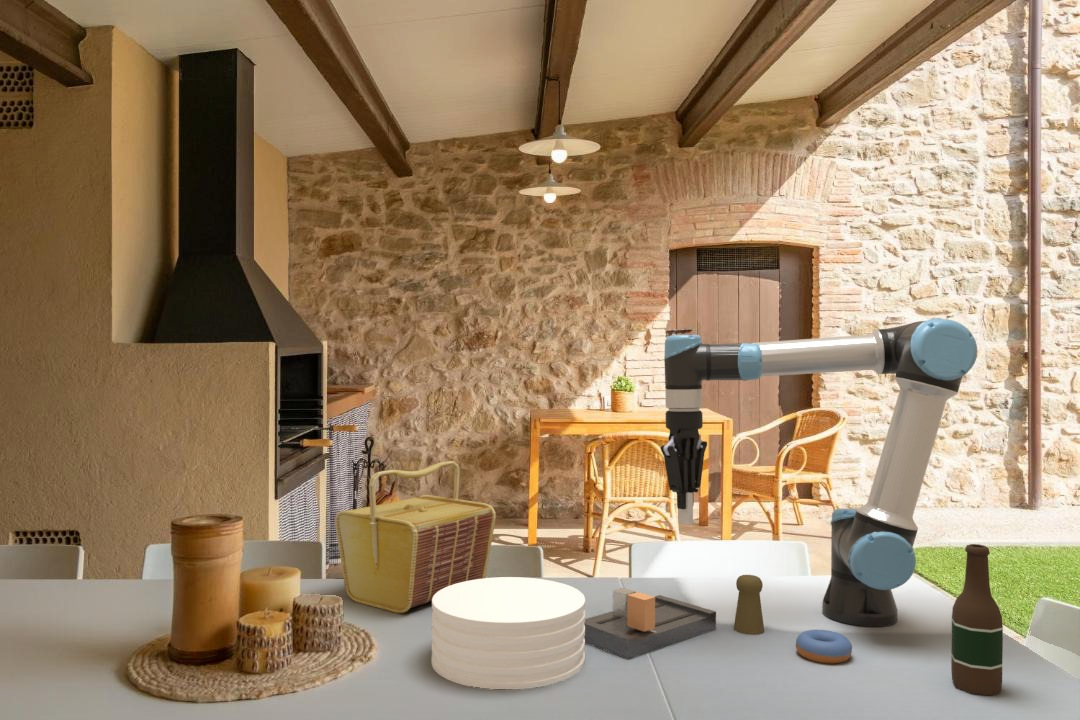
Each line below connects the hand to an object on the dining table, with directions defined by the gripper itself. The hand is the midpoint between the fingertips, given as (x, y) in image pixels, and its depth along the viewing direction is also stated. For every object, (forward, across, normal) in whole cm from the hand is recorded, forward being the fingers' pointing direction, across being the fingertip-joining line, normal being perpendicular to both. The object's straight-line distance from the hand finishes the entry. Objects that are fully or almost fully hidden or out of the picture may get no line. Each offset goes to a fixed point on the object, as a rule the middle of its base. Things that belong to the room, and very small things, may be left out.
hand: (685, 523), depth 169 cm
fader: (+17, +16, +1) cm, 23 cm away
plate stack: (+21, +39, -11) cm, 46 cm away
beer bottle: (+23, -11, +52) cm, 58 cm away
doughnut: (+22, -6, +27) cm, 35 cm away
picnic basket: (+20, +29, -56) cm, 66 cm away
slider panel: (+21, +10, -3) cm, 23 cm away
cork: (+22, -8, +10) cm, 25 cm away
